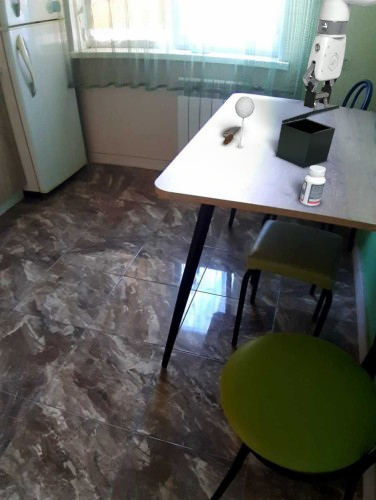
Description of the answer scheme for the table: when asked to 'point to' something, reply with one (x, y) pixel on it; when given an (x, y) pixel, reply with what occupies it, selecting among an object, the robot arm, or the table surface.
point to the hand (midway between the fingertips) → (316, 104)
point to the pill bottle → (313, 186)
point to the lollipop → (244, 110)
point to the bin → (304, 142)
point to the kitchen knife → (229, 134)
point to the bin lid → (315, 108)
